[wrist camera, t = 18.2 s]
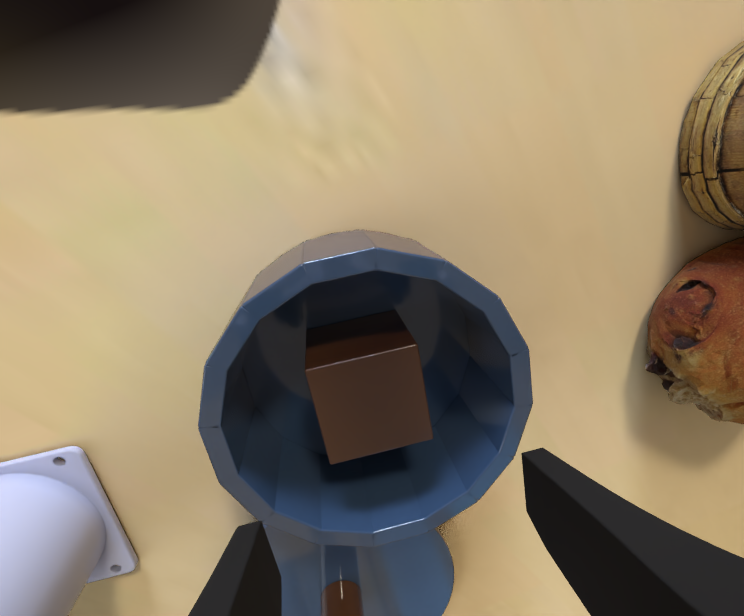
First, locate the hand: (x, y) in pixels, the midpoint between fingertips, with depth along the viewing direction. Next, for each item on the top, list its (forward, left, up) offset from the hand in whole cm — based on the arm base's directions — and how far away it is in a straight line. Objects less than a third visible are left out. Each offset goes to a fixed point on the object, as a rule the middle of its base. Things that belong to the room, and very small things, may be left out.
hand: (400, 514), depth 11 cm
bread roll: (+20, -3, -11) cm, 23 cm away
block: (0, 0, -10) cm, 10 cm away
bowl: (0, 0, -10) cm, 10 cm away
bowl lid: (-4, -14, -10) cm, 18 cm away
